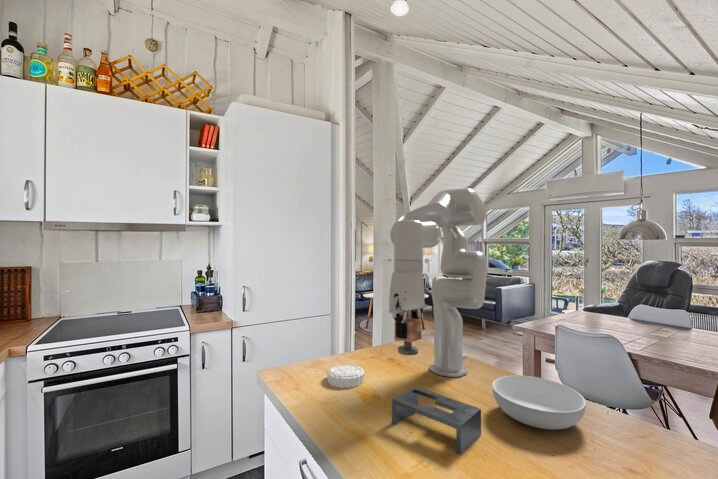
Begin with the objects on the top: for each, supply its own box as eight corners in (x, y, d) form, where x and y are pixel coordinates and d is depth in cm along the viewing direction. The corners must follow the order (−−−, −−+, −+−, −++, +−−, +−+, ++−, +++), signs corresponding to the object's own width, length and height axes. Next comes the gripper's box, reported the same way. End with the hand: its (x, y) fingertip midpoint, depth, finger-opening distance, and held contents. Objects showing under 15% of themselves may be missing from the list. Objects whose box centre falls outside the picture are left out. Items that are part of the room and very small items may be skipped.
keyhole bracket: (392, 423, 84) (392, 398, 84) (415, 409, 91) (415, 386, 91) (460, 454, 71) (460, 425, 71) (481, 435, 79) (481, 408, 79)
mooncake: (371, 384, 107) (371, 373, 107) (335, 391, 102) (335, 379, 102) (354, 371, 118) (354, 361, 118) (322, 377, 113) (322, 366, 113)
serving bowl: (533, 449, 73) (533, 416, 74) (475, 404, 94) (475, 379, 94) (608, 434, 79) (608, 404, 79) (538, 395, 99) (538, 371, 99)
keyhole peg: (405, 348, 94) (406, 316, 94) (421, 352, 90) (421, 319, 90) (393, 352, 90) (394, 319, 90) (410, 356, 87) (410, 322, 87)
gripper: (415, 265, 99) (415, 328, 99) (376, 267, 87) (375, 339, 87) (438, 266, 94) (437, 332, 94) (399, 268, 82) (399, 345, 82)
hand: (408, 335), depth 90 cm, fingers closed on keyhole peg, 5 cm apart
